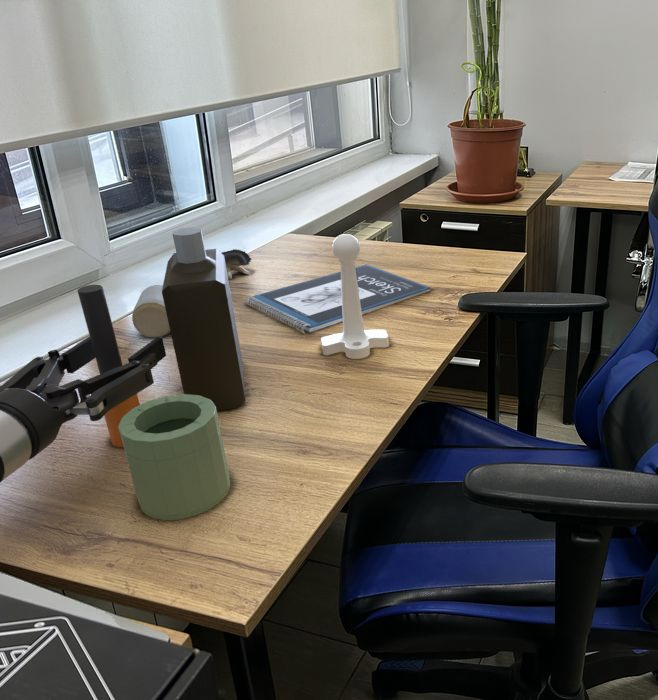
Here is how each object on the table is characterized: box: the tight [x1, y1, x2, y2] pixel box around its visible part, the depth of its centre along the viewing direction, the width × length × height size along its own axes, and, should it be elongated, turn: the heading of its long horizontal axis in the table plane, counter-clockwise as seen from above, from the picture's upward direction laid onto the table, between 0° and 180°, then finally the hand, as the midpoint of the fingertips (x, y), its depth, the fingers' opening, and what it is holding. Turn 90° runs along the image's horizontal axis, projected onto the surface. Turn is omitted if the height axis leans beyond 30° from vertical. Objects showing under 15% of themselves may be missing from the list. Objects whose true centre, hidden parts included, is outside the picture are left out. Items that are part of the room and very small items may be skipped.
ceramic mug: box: [131, 284, 171, 339], centre depth 127 cm, size 11×8×8 cm
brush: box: [77, 284, 141, 448], centre depth 91 cm, size 4×4×22 cm
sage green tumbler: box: [118, 393, 231, 521], centre depth 82 cm, size 10×10×11 cm
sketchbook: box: [245, 264, 432, 334], centre depth 141 cm, size 22×30×2 cm
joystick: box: [320, 233, 390, 360], centre depth 115 cm, size 11×8×20 cm
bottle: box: [162, 226, 246, 413], centre depth 103 cm, size 8×16×25 cm, turn 18°
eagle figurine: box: [221, 248, 252, 280], centre depth 153 cm, size 8×7×9 cm
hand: (130, 344), depth 95 cm, fingers open, 8 cm apart
